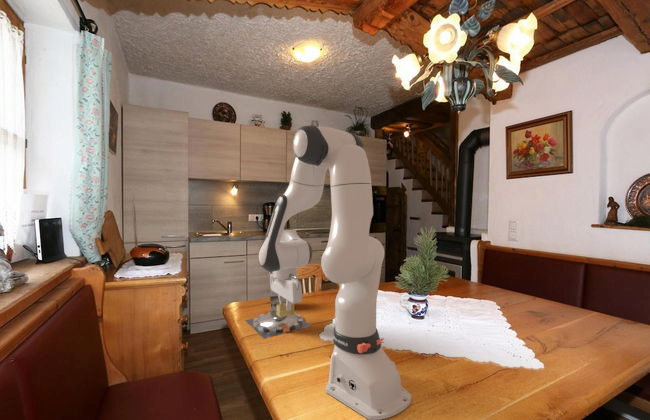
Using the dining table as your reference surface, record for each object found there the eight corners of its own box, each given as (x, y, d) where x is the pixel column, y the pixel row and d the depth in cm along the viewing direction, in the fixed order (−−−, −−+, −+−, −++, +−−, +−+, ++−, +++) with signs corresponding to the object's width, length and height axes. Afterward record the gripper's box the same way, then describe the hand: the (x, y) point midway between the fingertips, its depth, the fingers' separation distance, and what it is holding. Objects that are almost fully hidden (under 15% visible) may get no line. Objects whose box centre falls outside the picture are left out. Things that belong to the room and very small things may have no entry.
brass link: (294, 314, 113) (294, 303, 113) (279, 317, 110) (279, 306, 110) (290, 312, 116) (290, 301, 116) (276, 315, 113) (276, 304, 113)
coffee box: (284, 312, 133) (284, 276, 132) (269, 312, 133) (269, 276, 133) (287, 306, 142) (287, 272, 142) (273, 305, 142) (273, 271, 142)
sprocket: (310, 317, 125) (310, 304, 124) (289, 336, 106) (289, 321, 106) (269, 311, 131) (269, 299, 131) (242, 329, 113) (242, 314, 113)
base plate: (312, 328, 116) (312, 326, 116) (263, 341, 105) (263, 338, 105) (289, 312, 133) (289, 310, 133) (245, 322, 122) (245, 320, 122)
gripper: (306, 276, 106) (306, 315, 106) (281, 266, 123) (281, 299, 123) (290, 278, 102) (290, 319, 102) (267, 267, 119) (267, 302, 120)
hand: (285, 308), depth 113 cm, fingers closed on brass link, 3 cm apart
